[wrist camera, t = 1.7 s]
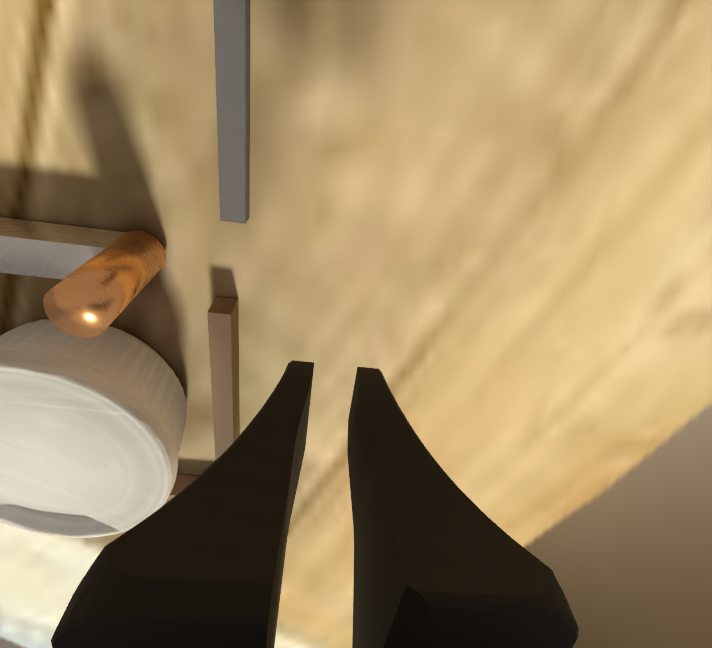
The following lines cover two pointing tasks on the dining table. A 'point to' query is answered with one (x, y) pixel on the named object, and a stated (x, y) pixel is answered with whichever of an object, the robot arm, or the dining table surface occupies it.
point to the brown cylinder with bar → (81, 269)
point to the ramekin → (85, 431)
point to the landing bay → (233, 106)
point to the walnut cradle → (221, 379)
